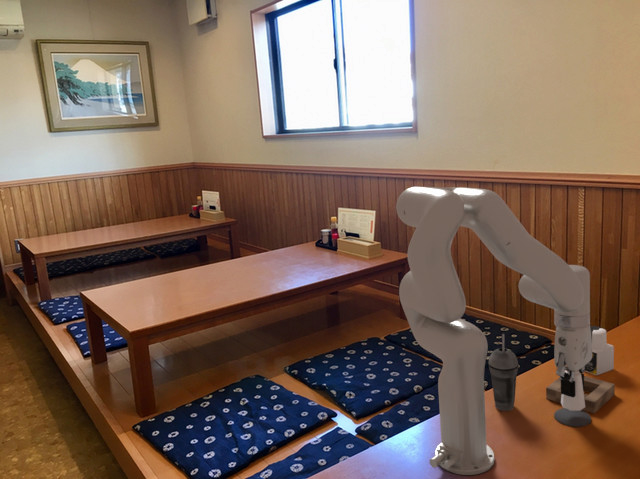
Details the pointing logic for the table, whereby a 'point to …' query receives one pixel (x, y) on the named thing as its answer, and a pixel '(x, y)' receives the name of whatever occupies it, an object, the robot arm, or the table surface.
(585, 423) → the coaster
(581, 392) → the pepper shaker
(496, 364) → the beverage cup
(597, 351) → the medicine bottle
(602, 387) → the board
